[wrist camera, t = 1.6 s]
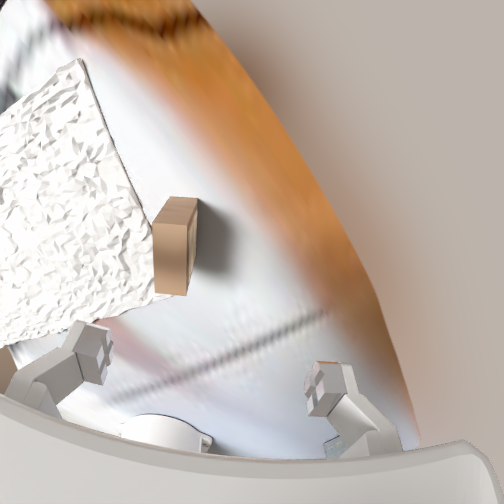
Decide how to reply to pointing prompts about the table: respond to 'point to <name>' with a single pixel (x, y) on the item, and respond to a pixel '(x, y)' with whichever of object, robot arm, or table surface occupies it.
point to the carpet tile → (66, 215)
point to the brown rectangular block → (174, 245)
